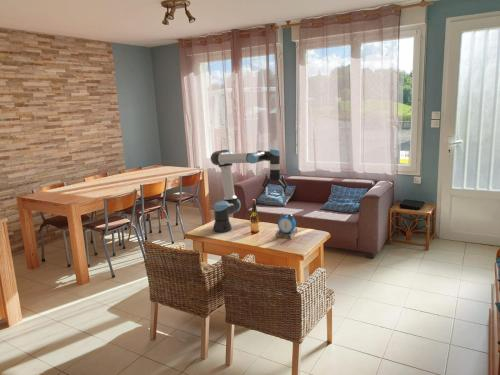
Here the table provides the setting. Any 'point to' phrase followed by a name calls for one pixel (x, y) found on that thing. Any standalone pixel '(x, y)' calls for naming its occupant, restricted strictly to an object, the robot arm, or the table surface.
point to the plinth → (286, 234)
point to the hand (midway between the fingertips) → (274, 195)
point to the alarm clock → (286, 223)
